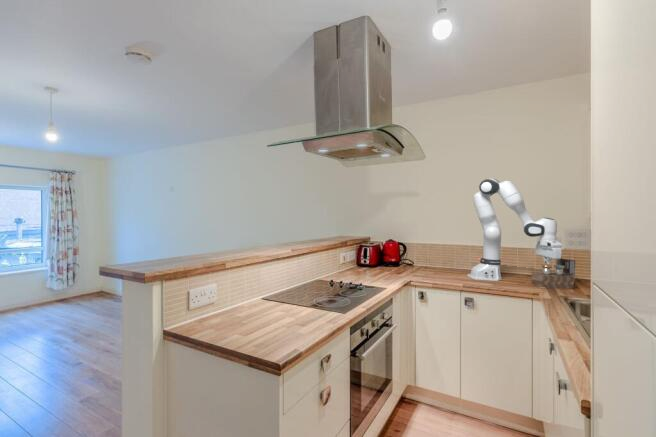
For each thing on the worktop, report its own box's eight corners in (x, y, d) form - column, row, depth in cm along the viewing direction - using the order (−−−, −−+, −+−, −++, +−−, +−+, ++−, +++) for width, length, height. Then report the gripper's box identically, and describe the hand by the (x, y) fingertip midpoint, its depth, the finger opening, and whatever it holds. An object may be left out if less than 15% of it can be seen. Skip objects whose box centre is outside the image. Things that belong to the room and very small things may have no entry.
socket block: (541, 288, 198) (541, 275, 198) (531, 284, 208) (532, 272, 208) (573, 289, 198) (573, 276, 197) (561, 284, 208) (562, 273, 207)
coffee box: (574, 283, 211) (576, 260, 211) (569, 284, 209) (570, 261, 208) (560, 280, 220) (561, 258, 219) (554, 281, 217) (556, 258, 216)
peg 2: (557, 280, 200) (557, 266, 199) (551, 278, 205) (551, 264, 205) (565, 280, 200) (566, 266, 199) (559, 278, 205) (560, 264, 205)
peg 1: (544, 279, 200) (545, 266, 199) (538, 277, 206) (539, 264, 205) (553, 280, 200) (554, 266, 199) (547, 277, 205) (548, 264, 205)
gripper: (532, 240, 212) (532, 260, 213) (553, 244, 191) (552, 266, 192) (542, 240, 212) (541, 260, 212) (564, 244, 191) (563, 266, 192)
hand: (546, 263), depth 202 cm, fingers closed
